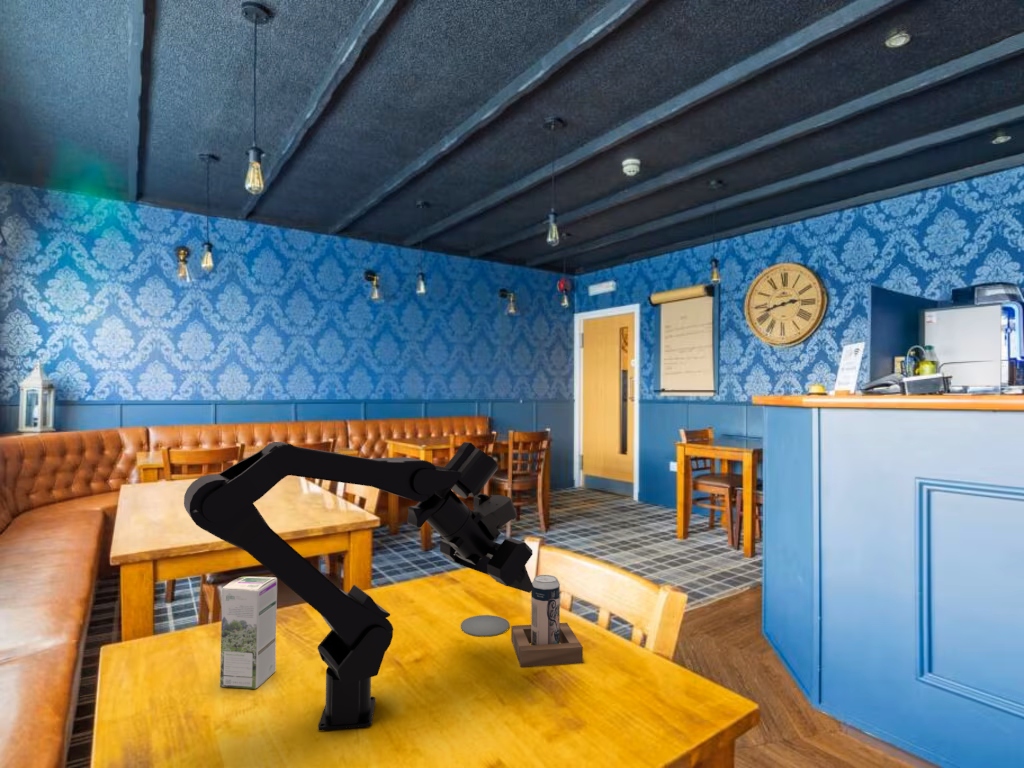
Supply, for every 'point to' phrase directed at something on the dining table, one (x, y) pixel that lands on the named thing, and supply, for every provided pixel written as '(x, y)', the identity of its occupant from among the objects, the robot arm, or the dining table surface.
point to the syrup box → (248, 632)
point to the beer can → (545, 610)
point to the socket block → (546, 648)
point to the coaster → (484, 625)
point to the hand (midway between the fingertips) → (513, 582)
